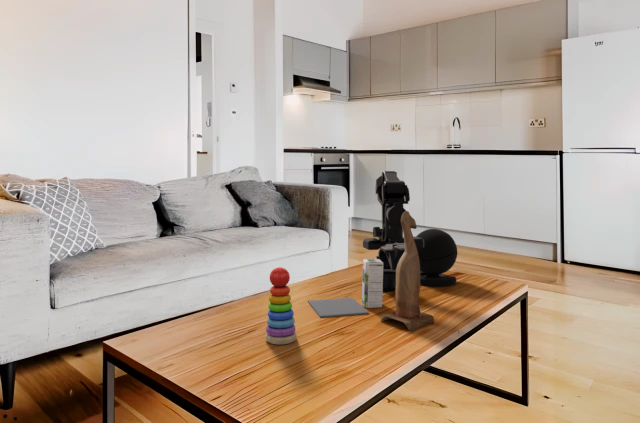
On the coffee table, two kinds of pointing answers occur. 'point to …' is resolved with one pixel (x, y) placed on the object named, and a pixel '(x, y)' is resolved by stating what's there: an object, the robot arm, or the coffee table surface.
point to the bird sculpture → (408, 282)
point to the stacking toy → (280, 310)
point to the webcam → (436, 258)
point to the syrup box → (372, 283)
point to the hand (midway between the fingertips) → (393, 269)
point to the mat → (337, 307)
